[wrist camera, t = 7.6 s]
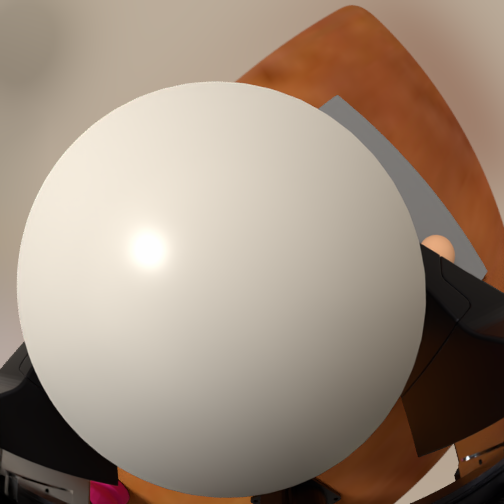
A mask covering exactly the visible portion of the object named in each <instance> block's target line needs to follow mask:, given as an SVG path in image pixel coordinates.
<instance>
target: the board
mask: <svg viewBox="0 0 504 504" xmlns="http://www.w3.org/2000/svg"><path fill="white" fill-rule="evenodd" d="M318 110H320V111H322V112H324V113H326V114H327V115H329V116H330V117H331V118H333V119H334V120H336V121H337V122H338V123H340V124H341V125H342V126H344V127H345V128H346V129H347V130H349V131H350V132H351V133H352V134H353V135H354V136H355V137H357V138H358V139H359V140H360V141H361V142H362V143H363V144H364V145H365V147H366V148H367V149H368V150H369V151H370V152H371V153H372V154H373V155H374V156H375V157H376V159H377V160H378V161H379V163H380V164H381V165H382V167H383V168H384V169H385V171H386V172H387V173H388V175H389V176H390V178H391V179H392V181H393V182H394V184H395V186H396V188H397V189H398V191H399V193H400V195H401V197H402V199H403V201H404V203H405V205H406V207H407V209H408V211H409V214H410V216H411V219H412V222H413V225H414V228H415V231H416V234H417V237H418V240H419V243H422V241H423V240H424V239H426V238H427V237H429V236H432V235H441V236H443V237H445V238H447V239H448V240H449V241H450V242H451V244H452V246H453V248H454V251H455V260H454V264H455V265H457V266H459V267H460V268H462V269H463V270H465V271H467V272H468V273H470V274H472V275H474V276H475V277H477V278H479V279H480V280H482V279H483V277H484V276H485V274H486V273H487V270H486V268H485V266H484V264H483V263H482V261H481V259H480V258H479V256H478V254H477V253H476V251H475V249H474V248H473V246H472V245H471V243H470V241H469V240H468V238H467V237H466V235H465V234H464V232H463V231H462V229H461V228H460V226H459V225H458V223H457V222H456V221H455V219H454V218H453V216H452V215H451V214H450V212H449V211H448V210H447V208H446V207H445V206H444V204H443V203H442V202H441V200H440V199H439V198H438V196H437V195H436V194H435V193H434V191H433V190H432V189H431V188H430V186H429V185H428V184H427V183H426V182H425V180H424V179H423V178H422V177H421V176H420V174H419V173H418V172H417V171H416V170H415V169H414V168H413V166H412V165H411V164H410V163H409V162H408V161H407V160H406V159H405V158H404V157H403V156H402V154H401V153H400V152H399V151H398V150H397V149H396V148H395V147H394V146H393V145H392V144H391V143H390V142H389V141H388V140H387V139H386V138H385V137H384V136H383V135H382V134H381V133H380V132H379V131H378V130H377V129H376V128H375V127H374V126H373V125H371V124H370V123H369V122H368V121H367V120H366V119H365V118H364V117H363V116H362V115H361V114H359V113H358V112H357V111H356V110H355V109H354V108H353V107H351V106H350V105H349V104H348V103H347V102H345V101H344V100H343V99H342V98H341V97H339V96H338V95H336V96H335V97H334V98H332V99H331V100H330V101H328V102H327V103H326V104H324V105H323V106H322V107H320V108H319V109H318Z"/></svg>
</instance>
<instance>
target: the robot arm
mask: <svg viewBox="0 0 504 504" xmlns="http://www.w3.org/2000/svg"><path fill="white" fill-rule="evenodd" d="M419 244H420V249H421V254H422V260H423V265H424V271H425V291H426V308H425V317H424V325H423V332H422V338H421V342H420V346H419V349H418V353H417V356H416V360H415V363H414V366H413V369H412V371H411V374H410V376H409V378H408V380H407V382H406V385H405V387H404V389H403V391H402V393H401V397H402V402H403V405H404V408H405V411H406V415H407V418H408V422H409V425H410V428H411V432H412V436H413V439H414V443H415V447H416V451H417V454H418V457H421V456H424V455H426V454H429V453H432V452H435V451H437V450H440V449H442V448H445V447H447V446H449V445H452V444H454V445H455V449H456V453H457V457H458V461H459V465H458V469H457V471H456V473H455V475H454V476H455V480H456V481H455V482H453V483H451V484H450V485H448V486H446V487H444V488H442V489H440V490H438V491H436V492H434V493H432V494H430V495H428V496H426V497H424V498H422V499H419V500H417V501H415V502H413V503H410V504H504V293H503V292H501V291H499V290H498V289H496V288H494V287H493V286H491V285H489V284H487V283H486V282H484V281H482V280H480V279H479V278H477V277H475V276H474V275H472V274H470V273H468V272H467V271H465V270H463V269H462V268H460V267H459V266H457V265H455V264H454V263H452V262H450V261H449V260H447V259H446V258H444V257H443V256H440V255H439V254H438V253H436V252H434V251H433V250H431V249H429V248H428V247H426V246H424V245H423V244H421V243H419ZM91 481H95V482H99V483H104V484H109V485H114V486H118V470H117V465H115V464H114V463H112V462H111V461H109V460H108V459H106V458H105V457H103V456H102V455H101V454H99V453H98V452H97V451H96V450H95V449H93V448H92V447H91V446H90V445H89V444H88V443H86V442H85V441H84V440H83V439H82V438H81V437H80V436H79V435H78V434H77V433H76V432H75V431H74V430H73V428H72V427H71V426H70V425H69V424H68V423H67V422H66V421H65V419H64V418H63V417H62V415H61V414H60V413H59V411H58V410H57V409H56V407H55V406H54V404H53V403H52V401H51V400H50V398H49V396H48V395H47V393H46V391H45V390H44V388H43V386H42V384H41V382H40V380H39V378H38V376H37V374H36V372H35V369H34V367H33V365H32V362H31V360H30V357H29V354H28V351H27V348H26V344H25V341H24V342H23V344H22V345H21V346H20V347H19V348H18V349H17V350H16V352H15V353H14V354H13V355H12V356H11V357H10V358H9V360H8V361H7V362H6V363H5V364H4V365H3V367H2V368H1V369H0V504H93V503H92V502H91V501H90V482H91ZM340 499H341V496H340V494H338V493H337V492H335V491H333V490H332V489H330V488H328V487H327V486H325V485H324V484H322V483H321V482H319V481H318V480H316V479H315V478H311V479H309V480H307V481H305V482H302V483H300V484H298V485H295V486H292V487H289V488H286V489H282V490H279V491H275V492H271V493H267V494H261V495H255V496H253V497H251V503H253V504H333V503H335V502H337V501H339V500H340Z"/></svg>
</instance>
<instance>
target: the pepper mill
mask: <svg viewBox="0 0 504 504" xmlns="http://www.w3.org/2000/svg"><path fill="white" fill-rule="evenodd" d="M90 501H91V502H92V503H93V504H127V502H128V501H129V493H128V491H127V489H126V488H125V486H124V485H123V484H122V483H121V482H120V481H119V480H118V486H114V485H109V484H104V483H99V482H95V481H91V482H90Z"/></svg>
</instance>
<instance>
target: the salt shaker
mask: <svg viewBox="0 0 504 504" xmlns="http://www.w3.org/2000/svg"><path fill="white" fill-rule="evenodd" d="M17 297H18V310H19V317H20V323H21V328H22V333H23V337H24V341H25V344H26V348H27V351H28V354H29V357H30V360H31V362H32V365H33V367H34V369H35V372H36V374H37V376H38V378H39V380H40V382H41V384H42V386H43V388H44V390H45V391H46V393H47V395H48V396H49V398H50V400H51V401H52V403H53V404H54V406H55V407H56V409H57V410H58V411H59V413H60V414H61V415H62V417H63V418H64V419H65V421H66V422H67V423H68V424H69V425H70V426H71V427H72V428H73V430H74V431H75V432H76V433H77V434H78V435H79V436H80V437H81V438H82V439H83V440H84V441H85V442H86V443H88V444H89V445H90V446H91V447H92V448H93V449H95V450H96V451H97V452H98V453H99V454H101V455H102V456H103V457H105V458H106V459H108V460H109V461H111V462H112V463H114V464H115V465H117V466H118V467H120V468H121V469H123V470H125V471H127V472H129V473H130V474H132V475H134V476H136V477H138V478H140V479H142V480H145V481H147V482H150V483H152V484H155V485H158V486H160V487H163V488H166V489H170V490H174V491H178V492H182V493H186V494H191V495H198V496H207V497H247V496H254V495H261V494H267V493H271V492H275V491H279V490H282V489H286V488H289V487H292V486H295V485H298V484H300V483H302V482H305V481H307V480H309V479H311V478H314V477H316V476H318V475H320V474H322V473H323V472H325V471H327V470H328V469H330V468H332V467H333V466H335V465H336V464H338V463H339V462H341V461H343V460H344V459H345V458H346V457H348V456H349V455H350V454H351V453H352V452H354V451H355V450H356V449H357V448H358V447H360V446H361V445H362V444H363V443H364V442H365V441H366V440H367V439H368V438H369V437H370V436H371V435H372V434H373V432H374V431H375V430H376V429H377V428H378V427H379V426H380V424H381V423H382V422H383V421H384V420H385V418H386V417H387V415H388V414H389V412H390V411H391V409H392V408H393V406H394V405H395V403H396V402H397V400H398V398H399V397H400V395H401V393H402V391H403V389H404V387H405V385H406V382H407V380H408V378H409V376H410V374H411V371H412V369H413V366H414V363H415V360H416V356H417V353H418V349H419V346H420V342H421V338H422V332H423V325H424V317H425V308H426V291H425V271H424V265H423V260H422V254H421V249H420V244H419V240H418V237H417V234H416V231H415V228H414V225H413V222H412V219H411V216H410V214H409V211H408V209H407V207H406V205H405V203H404V201H403V199H402V197H401V195H400V193H399V191H398V189H397V188H396V186H395V184H394V182H393V181H392V179H391V178H390V176H389V175H388V173H387V172H386V171H385V169H384V168H383V167H382V165H381V164H380V163H379V161H378V160H377V159H376V157H375V156H374V155H373V154H372V153H371V152H370V151H369V150H368V149H367V148H366V147H365V145H364V144H363V143H362V142H361V141H360V140H359V139H358V138H357V137H355V136H354V135H353V134H352V133H351V132H350V131H349V130H347V129H346V128H345V127H344V126H342V125H341V124H340V123H338V122H337V121H336V120H334V119H333V118H331V117H330V116H329V115H327V114H326V113H324V112H322V111H320V110H318V109H317V108H315V107H313V106H311V105H309V104H307V103H306V102H304V101H302V100H300V99H297V98H294V97H292V96H289V95H286V94H284V93H281V92H278V91H275V90H272V89H268V88H264V87H259V86H254V85H250V84H244V83H233V82H201V83H188V84H183V85H178V86H173V87H169V88H164V89H161V90H158V91H155V92H152V93H149V94H146V95H144V96H141V97H138V98H136V99H134V100H132V101H130V102H128V103H126V104H124V105H122V106H120V107H118V108H117V109H115V110H113V111H112V112H110V113H109V114H107V115H106V116H104V117H103V118H101V119H100V120H99V121H97V122H96V123H95V124H93V125H92V126H91V127H90V128H89V129H87V130H86V131H85V132H84V133H83V134H82V135H81V136H80V137H79V138H77V139H76V140H75V142H74V143H73V144H72V145H71V146H70V147H69V148H68V149H67V150H66V152H65V153H64V154H63V155H62V156H61V158H60V159H59V160H58V162H57V163H56V164H55V166H54V167H53V169H52V170H51V172H50V173H49V175H48V176H47V178H46V180H45V182H44V183H43V185H42V187H41V189H40V191H39V193H38V195H37V197H36V199H35V201H34V204H33V206H32V209H31V211H30V214H29V217H28V219H27V223H26V226H25V230H24V233H23V237H22V242H21V247H20V254H19V260H18V270H17Z"/></svg>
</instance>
